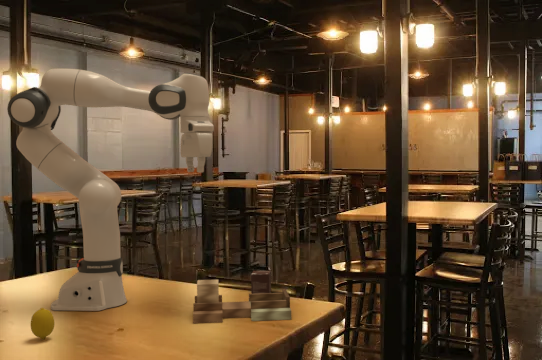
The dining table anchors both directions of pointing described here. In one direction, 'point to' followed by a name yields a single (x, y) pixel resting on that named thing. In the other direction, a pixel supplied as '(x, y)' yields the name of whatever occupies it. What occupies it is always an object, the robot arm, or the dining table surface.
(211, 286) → the block
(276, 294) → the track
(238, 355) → the dining table surface
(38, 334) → the lemon
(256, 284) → the box
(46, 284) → the dining table surface
